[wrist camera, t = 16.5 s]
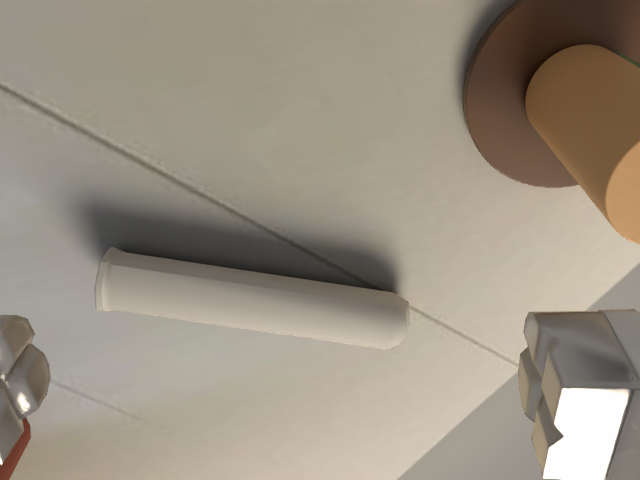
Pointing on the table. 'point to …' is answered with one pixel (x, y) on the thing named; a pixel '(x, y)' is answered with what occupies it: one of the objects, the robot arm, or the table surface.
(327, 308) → the tube
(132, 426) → the table surface
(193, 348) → the table surface
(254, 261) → the table surface
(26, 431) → the potted plant
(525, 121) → the disc
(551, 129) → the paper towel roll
